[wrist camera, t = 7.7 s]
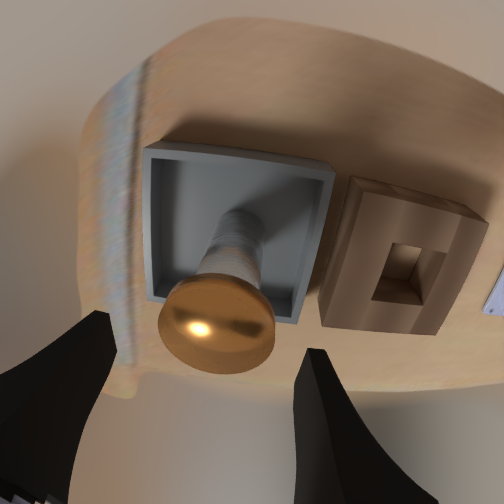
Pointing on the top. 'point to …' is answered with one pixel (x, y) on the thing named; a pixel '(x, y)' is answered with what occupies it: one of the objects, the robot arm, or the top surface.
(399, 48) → the top surface
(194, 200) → the tray
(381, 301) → the holder block
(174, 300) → the pin
